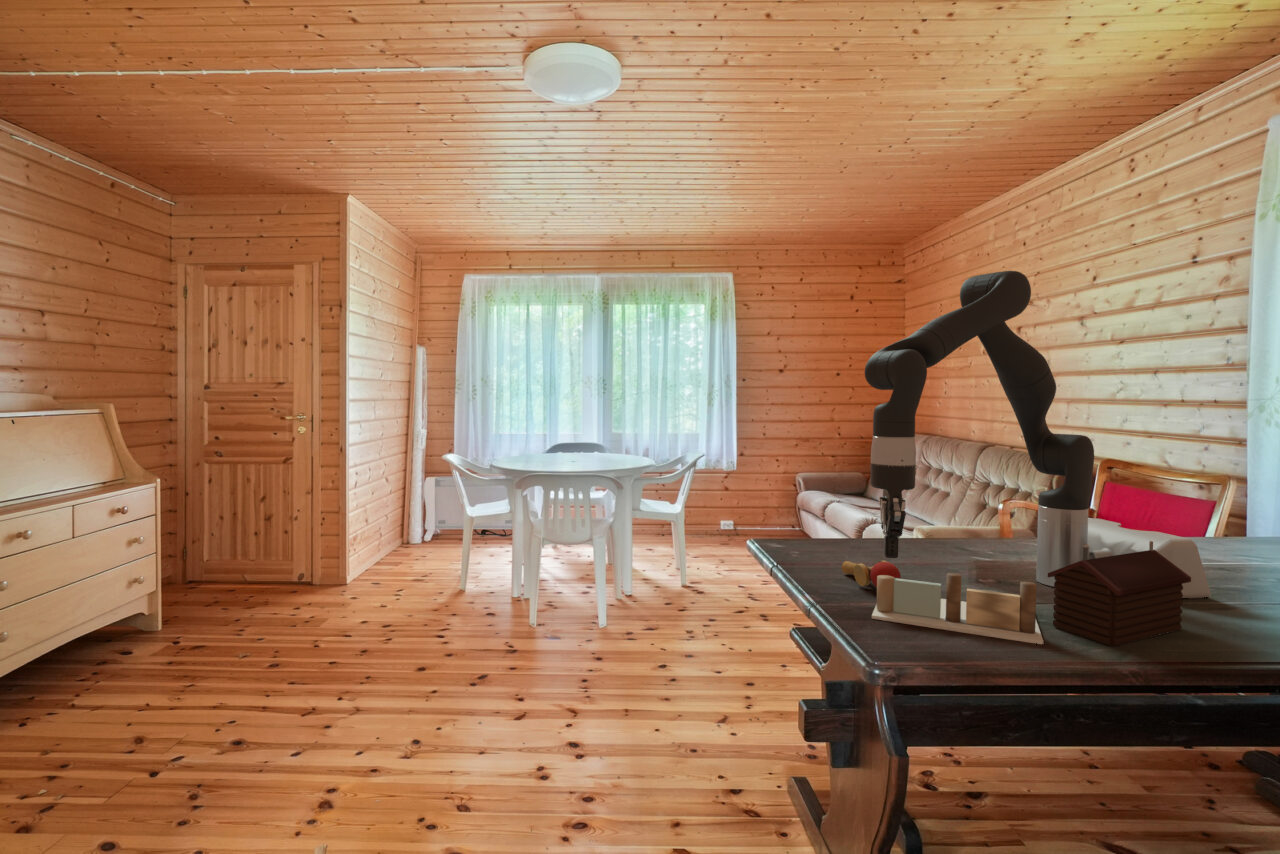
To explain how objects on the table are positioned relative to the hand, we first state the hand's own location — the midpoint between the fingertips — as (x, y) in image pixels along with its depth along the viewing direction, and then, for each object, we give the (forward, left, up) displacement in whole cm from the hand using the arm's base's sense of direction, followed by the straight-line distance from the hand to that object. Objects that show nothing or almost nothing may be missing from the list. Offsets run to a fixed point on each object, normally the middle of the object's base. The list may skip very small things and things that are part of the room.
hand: (890, 556), depth 113 cm
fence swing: (-3, -6, -11) cm, 13 cm away
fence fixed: (-16, -6, -12) cm, 21 cm away
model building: (-36, -17, -13) cm, 42 cm away
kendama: (+7, -24, -12) cm, 27 cm away
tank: (-44, -52, -13) cm, 69 cm away
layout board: (-10, -10, -12) cm, 19 cm away
